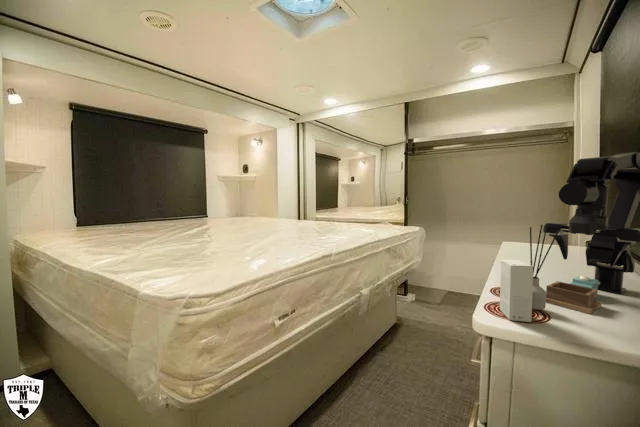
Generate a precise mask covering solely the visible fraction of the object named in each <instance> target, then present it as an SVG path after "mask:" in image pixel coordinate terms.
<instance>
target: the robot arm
mask: <svg viewBox="0 0 640 427" xmlns="http://www.w3.org/2000/svg"><path fill="white" fill-rule="evenodd" d="M611 180H613V181H614V185H615V187H616V189H617V190H618V193H617V195H616V197H615V200H614V203H613V206H612V208H611V211H610V213H609V216H608V215H607V212H608V200H609V188H611V184H610V183H609V182H610V181H611ZM558 199H559V200H560V201H561V202H562V204H565V205H568V206H576V208H575V212H574V215H573V216H572V217H571V218H570V219H569V221H568V223H567V222H566V223H565V222H553V221H551V222H546V223H545V224H543V227H542V229H543V233H545V229H546V226H547V231H546V234H548V237H552V238H554V237H555V235H556V233H557V231H558V230H559V232H558V234H557V236H556V238H555V240H554V241H556V243H557V245H558V247H559V249H560V252H561V255H562V258H563V260H568V253H569V234H574V235H575V234H580V235H581V234H582V235H585V236H592V237H591V238H590V242H589V244H588V245H587V247H586V248H585V249H586V250H585V259H586V266H587V267H588V266H589V267H594V268H595V270H594V278H593V279H596V280H598V282H600V285H598V290H601V291H604V292H609V293H614V294H620V295H621V294H624V293H625V292H626V291H627V288H626V287H623V285H624V284H623V282H624V273H625V274H626V273H631V274H632V273H634V272H635V267H636V266H635V265H636V263H635V261H634V258H633V256H632V253H631V248H630V246H631V245H635V244H637V243H640V228H635V227H633V228H632V227H631V225H632V222H633V221H634V220H633V219H634V217H635V214H636V211H637V208H638V206H639V203H640V152H637V151H633V152H623V153H622V152H621V153H617V154H614V155H610V156H598V157H597V156H596V157H587V158H580V159H578V160H576V163H574V165H573V167H572V170H571V172H570V174H569V175H568V178H567V180H566V184H564V185H563V186H561V188H560V190H559V191H558ZM629 245H630V246H629Z"/></svg>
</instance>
